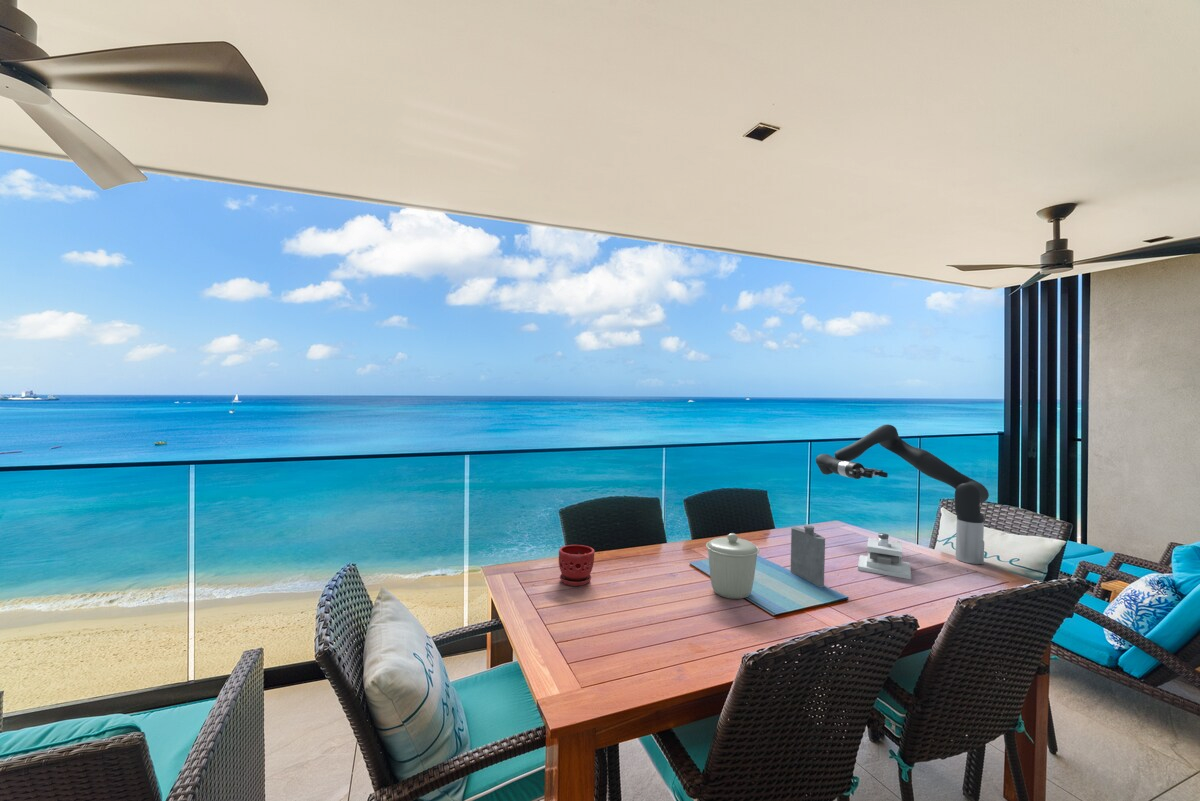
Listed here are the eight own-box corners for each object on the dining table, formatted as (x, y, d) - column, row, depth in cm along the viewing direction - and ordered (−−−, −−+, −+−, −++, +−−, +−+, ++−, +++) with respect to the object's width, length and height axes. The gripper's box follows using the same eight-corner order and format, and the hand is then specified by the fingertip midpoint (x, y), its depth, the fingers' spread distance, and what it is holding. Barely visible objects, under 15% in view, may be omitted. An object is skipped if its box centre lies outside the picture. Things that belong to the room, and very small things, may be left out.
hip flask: (788, 571, 194) (789, 521, 193) (796, 570, 195) (798, 520, 195) (819, 587, 179) (820, 532, 178) (827, 585, 180) (829, 531, 180)
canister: (721, 607, 162) (722, 543, 161) (696, 585, 179) (697, 528, 178) (769, 601, 166) (770, 539, 166) (740, 580, 184) (741, 524, 183)
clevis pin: (888, 563, 199) (888, 533, 200) (889, 566, 196) (888, 536, 196) (878, 562, 201) (878, 533, 201) (879, 565, 198) (878, 535, 198)
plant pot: (589, 589, 174) (590, 556, 174) (554, 586, 177) (554, 553, 176) (597, 576, 187) (597, 544, 187) (563, 573, 189) (564, 542, 189)
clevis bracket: (909, 566, 201) (910, 543, 201) (911, 580, 186) (911, 555, 186) (859, 558, 210) (860, 536, 210) (857, 570, 195) (858, 547, 195)
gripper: (838, 462, 230) (866, 467, 215) (862, 461, 234) (892, 466, 219) (838, 478, 230) (866, 484, 215) (862, 476, 235) (891, 483, 219)
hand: (879, 475), depth 217 cm, fingers open, 8 cm apart
